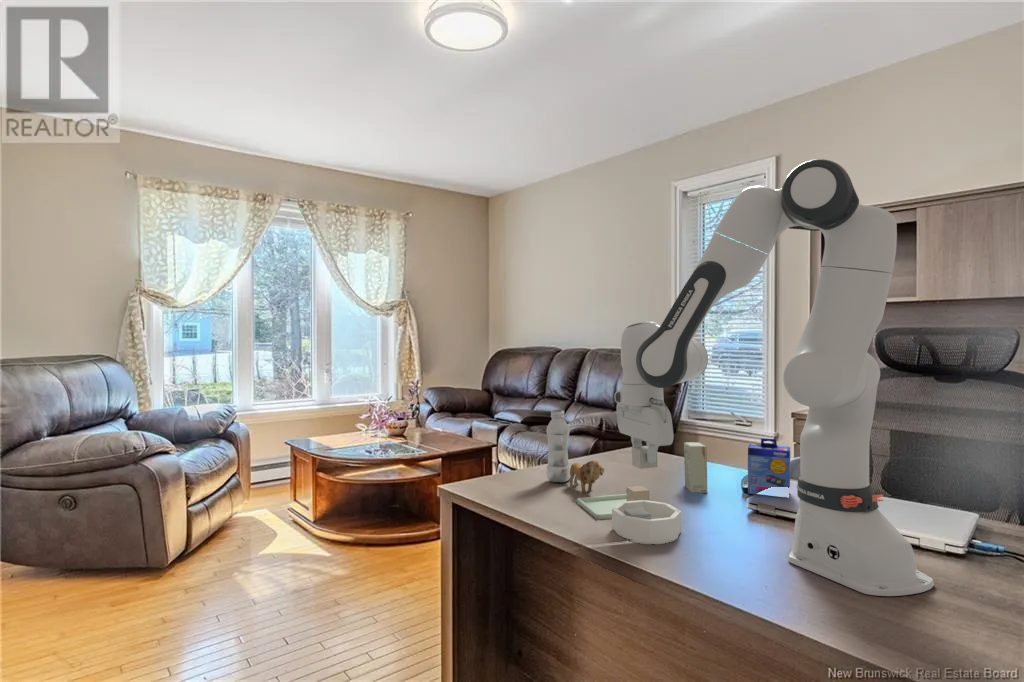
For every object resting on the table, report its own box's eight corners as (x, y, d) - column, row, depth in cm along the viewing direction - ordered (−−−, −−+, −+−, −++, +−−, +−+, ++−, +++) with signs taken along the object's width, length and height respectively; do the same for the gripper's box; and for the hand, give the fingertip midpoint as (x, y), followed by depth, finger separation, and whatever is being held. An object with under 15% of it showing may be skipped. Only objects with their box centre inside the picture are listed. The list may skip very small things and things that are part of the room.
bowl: (691, 540, 113) (691, 516, 113) (631, 547, 110) (631, 523, 110) (659, 519, 126) (659, 498, 126) (604, 525, 123) (604, 503, 123)
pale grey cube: (657, 467, 122) (656, 448, 122) (640, 468, 121) (639, 450, 121) (649, 463, 126) (648, 445, 126) (632, 465, 125) (631, 446, 125)
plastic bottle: (554, 477, 163) (553, 408, 163) (574, 481, 159) (573, 410, 159) (541, 482, 158) (541, 411, 158) (562, 486, 154) (562, 413, 154)
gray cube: (650, 533, 116) (650, 513, 116) (632, 535, 115) (632, 515, 115) (641, 526, 120) (641, 508, 120) (624, 528, 119) (624, 509, 119)
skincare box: (708, 493, 145) (707, 446, 145) (691, 493, 145) (690, 446, 145) (700, 486, 152) (699, 441, 152) (683, 487, 152) (683, 441, 152)
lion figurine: (607, 495, 145) (607, 460, 145) (591, 499, 142) (591, 463, 142) (572, 482, 158) (572, 450, 157) (557, 485, 155) (556, 453, 155)
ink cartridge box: (747, 494, 144) (746, 438, 144) (748, 489, 149) (748, 434, 149) (790, 499, 140) (790, 440, 140) (790, 493, 145) (790, 437, 145)
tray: (663, 514, 129) (663, 508, 129) (597, 521, 125) (597, 515, 125) (637, 498, 142) (637, 492, 142) (576, 503, 138) (576, 498, 138)
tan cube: (649, 507, 133) (649, 490, 133) (634, 508, 133) (633, 491, 132) (641, 502, 137) (641, 485, 137) (626, 503, 136) (626, 487, 136)
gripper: (680, 399, 114) (682, 468, 114) (636, 392, 134) (638, 450, 134) (651, 401, 113) (653, 470, 113) (611, 393, 133) (613, 452, 133)
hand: (645, 459), depth 123 cm, fingers closed on pale grey cube, 4 cm apart
